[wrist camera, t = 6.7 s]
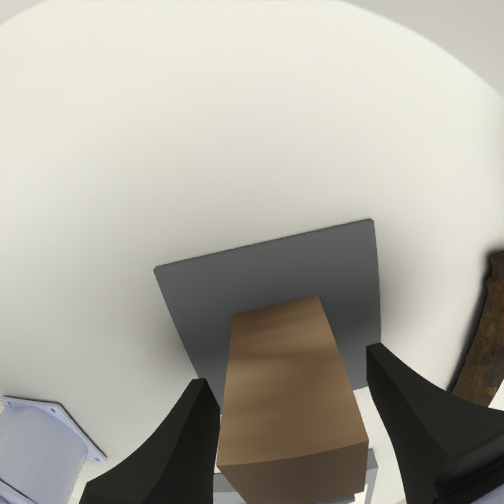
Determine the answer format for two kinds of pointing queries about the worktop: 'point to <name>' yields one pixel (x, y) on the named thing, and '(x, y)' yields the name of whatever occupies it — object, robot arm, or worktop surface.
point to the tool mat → (278, 294)
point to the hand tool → (486, 344)
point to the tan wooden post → (289, 410)
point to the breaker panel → (230, 500)
